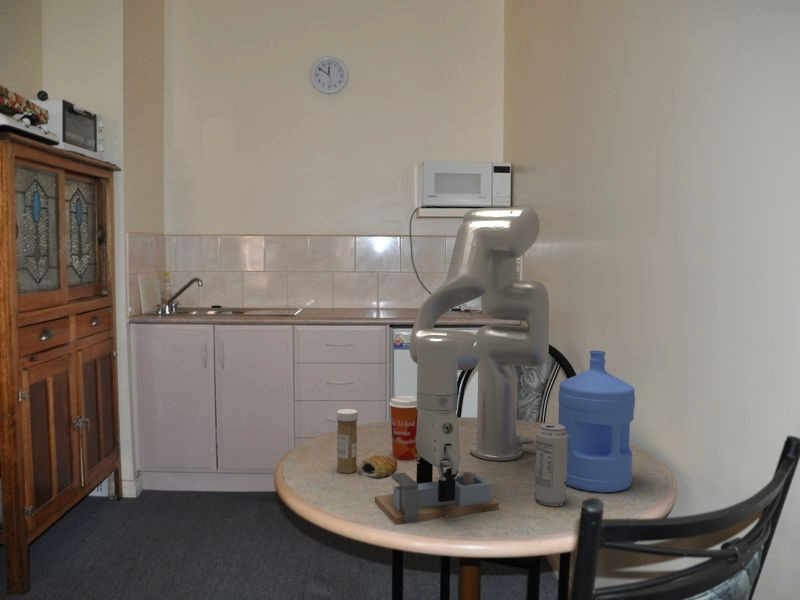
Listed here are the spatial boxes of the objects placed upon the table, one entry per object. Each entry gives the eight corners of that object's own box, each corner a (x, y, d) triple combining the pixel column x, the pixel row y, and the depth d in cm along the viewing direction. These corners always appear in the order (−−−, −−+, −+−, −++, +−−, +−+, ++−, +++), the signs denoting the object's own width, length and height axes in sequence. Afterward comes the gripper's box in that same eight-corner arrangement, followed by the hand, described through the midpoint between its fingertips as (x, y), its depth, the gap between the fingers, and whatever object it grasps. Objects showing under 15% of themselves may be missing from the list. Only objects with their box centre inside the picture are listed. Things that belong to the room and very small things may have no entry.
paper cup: (383, 459, 150) (384, 400, 149) (395, 450, 157) (396, 394, 156) (414, 463, 147) (415, 403, 146) (425, 454, 154) (426, 397, 154)
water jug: (541, 473, 142) (545, 348, 140) (599, 466, 147) (603, 345, 146) (585, 497, 127) (590, 358, 126) (648, 489, 133) (653, 355, 131)
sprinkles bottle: (360, 471, 141) (361, 411, 140) (342, 475, 139) (343, 413, 138) (350, 465, 145) (351, 407, 144) (332, 469, 142) (333, 409, 142)
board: (471, 489, 131) (471, 460, 130) (498, 509, 121) (499, 477, 120) (374, 502, 123) (375, 471, 123) (395, 524, 113) (395, 491, 112)
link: (474, 490, 127) (474, 473, 127) (490, 502, 121) (491, 484, 121) (389, 501, 120) (389, 483, 120) (402, 514, 114) (403, 495, 114)
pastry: (381, 464, 147) (381, 448, 147) (405, 470, 143) (405, 453, 143) (355, 474, 140) (355, 457, 139) (379, 481, 136) (380, 463, 135)
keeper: (403, 507, 120) (404, 472, 120) (417, 521, 114) (418, 483, 114) (391, 509, 120) (391, 473, 119) (404, 523, 113) (405, 485, 113)
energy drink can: (571, 505, 123) (574, 429, 122) (543, 508, 121) (546, 430, 120) (555, 494, 129) (557, 421, 128) (528, 497, 127) (530, 423, 126)
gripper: (476, 410, 112) (474, 505, 113) (435, 391, 128) (433, 475, 129) (438, 413, 109) (436, 511, 110) (400, 393, 125) (399, 479, 126)
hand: (435, 491), depth 120 cm, fingers open, 9 cm apart
